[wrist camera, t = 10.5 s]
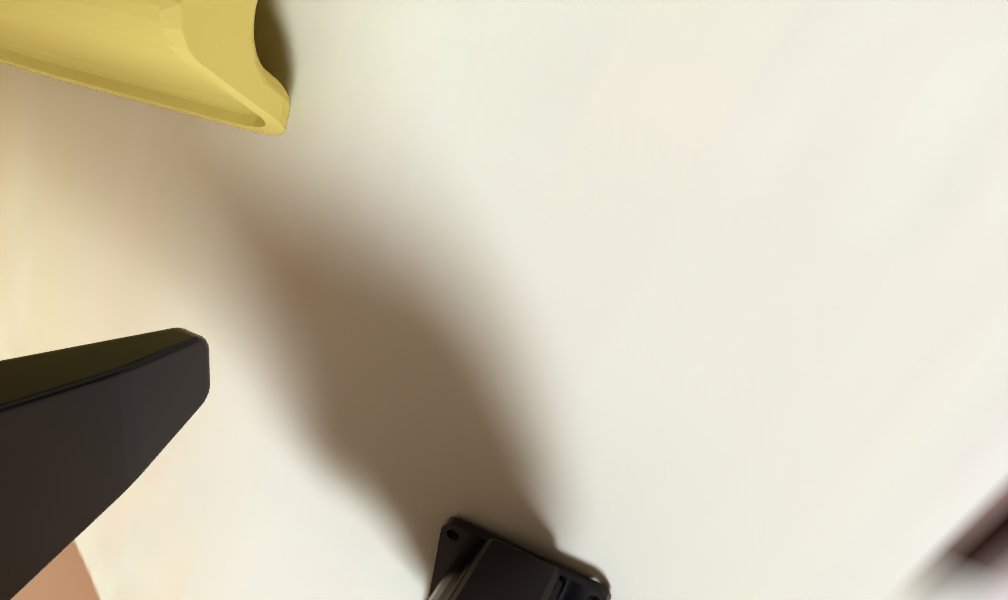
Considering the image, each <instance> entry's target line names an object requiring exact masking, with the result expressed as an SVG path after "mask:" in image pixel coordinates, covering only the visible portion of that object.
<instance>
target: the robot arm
mask: <svg viewBox="0 0 1008 600" xmlns="http://www.w3.org/2000/svg"><path fill="white" fill-rule="evenodd" d="M209 389H210V368H209V346H208V343H207V341H206V339H204V338H203V337H202V336H200V335H197V334H195V333H193V332H190V331H188V330H186V329H183V328H171V329H166V330H161V331H155V332H150V333H145V334H139V335H134V336H129V337H124V338H118V339H113V340H108V341H102V342H97V343H92V344H87V345H81V346H76V347H71V348H65V349H60V350H55V351H50V352H44V353H39V354H34V355H28V356H23V357H18V358H13V359H7V360H2V361H0V600H10V599H12V598H13V597H14V596H15V595H16V594H17V593H18V592H19V591H20V590H21V589H22V588H23V587H24V586H25V585H27V584H28V583H29V582H30V581H31V580H32V579H33V578H34V577H35V576H36V575H37V574H38V573H39V572H40V571H41V570H42V569H44V568H45V567H46V566H47V565H48V564H49V563H50V562H51V561H52V560H53V559H54V558H55V557H56V556H57V555H58V554H59V553H60V552H62V551H63V550H64V549H65V548H66V547H67V546H68V545H69V544H70V543H71V542H72V541H73V540H74V539H75V538H76V537H77V536H79V535H80V534H81V533H82V532H83V531H84V530H85V529H86V528H87V527H88V526H89V525H90V524H91V523H92V522H93V521H94V520H95V519H97V518H98V517H99V516H100V515H101V514H102V513H103V512H104V511H105V510H106V509H107V508H108V507H109V506H110V505H111V504H112V503H114V502H115V501H116V500H117V499H118V498H119V497H120V496H121V495H122V494H123V493H124V492H125V491H126V490H127V489H128V488H129V487H130V486H131V485H132V484H133V482H134V481H135V480H136V479H137V478H138V477H139V476H140V475H141V474H142V473H143V472H144V471H145V469H146V468H147V467H148V466H149V465H150V464H151V462H152V461H153V460H154V459H155V458H156V457H157V456H158V454H159V453H160V452H161V451H162V450H163V449H164V448H165V446H166V445H167V444H168V443H169V442H170V441H171V440H172V438H173V437H174V436H175V435H176V434H177V433H178V432H179V430H180V429H181V428H182V427H183V426H184V425H185V424H186V422H187V421H188V420H189V419H190V418H191V417H192V416H193V414H194V413H195V412H196V411H197V410H198V409H199V407H200V406H201V405H202V404H203V402H204V401H205V399H206V397H207V395H208V393H209ZM455 531H456V532H457V533H456V532H455ZM594 596H595V597H597V598H598V599H597V598H595V597H594ZM428 600H611V594H610V591H609V590H608V589H607V588H606V587H605V586H603V585H602V584H600V583H598V582H596V581H594V580H591V579H589V578H587V577H585V576H583V575H581V574H579V573H576V572H574V571H572V570H570V569H568V568H566V567H563V566H561V565H559V564H557V563H555V562H553V561H550V560H548V559H546V558H544V557H542V556H540V555H538V554H535V553H533V552H531V551H529V550H527V549H525V548H522V547H520V546H518V545H516V544H514V543H512V542H509V541H507V540H505V539H503V538H501V537H499V536H497V535H494V534H492V533H490V532H488V531H486V530H484V529H481V528H479V527H477V526H475V525H473V524H471V523H469V522H466V521H464V520H462V519H460V518H456V517H451V518H449V519H448V520H447V521H446V522H445V524H444V525H443V527H442V529H441V533H440V538H439V544H438V550H437V555H436V561H435V566H434V572H433V578H432V583H431V589H430V594H429V599H428Z"/></svg>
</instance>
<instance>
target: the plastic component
mask: <svg viewBox="0 0 1008 600" xmlns="http://www.w3.org/2000/svg"><path fill="white" fill-rule="evenodd" d="M257 1H258V0H0V62H3V63H6V64H10V65H13V66H16V67H19V68H22V69H25V70H29V71H32V72H35V73H38V74H42V75H45V76H48V77H52V78H55V79H58V80H62V81H65V82H69V83H72V84H76V85H80V86H84V87H87V88H91V89H95V90H99V91H102V92H106V93H110V94H113V95H117V96H121V97H125V98H128V99H132V100H136V101H140V102H143V103H147V104H151V105H155V106H158V107H162V108H166V109H170V110H173V111H177V112H181V113H185V114H188V115H192V116H196V117H199V118H203V119H207V120H211V121H214V122H218V123H222V124H226V125H229V126H233V127H237V128H241V129H244V130H248V131H252V132H257V133H262V134H268V135H280V134H282V133H284V132H285V128H286V124H287V120H288V116H289V112H290V99H289V96H288V94H287V92H286V90H285V89H284V87H283V86H282V84H281V83H280V82H279V81H278V80H277V79H276V78H274V77H273V76H272V75H271V74H270V73H269V72H268V71H266V70H265V69H264V68H263V67H262V65H261V63H260V61H259V58H258V56H257V53H256V48H255V42H254V18H255V10H256V5H257Z"/></svg>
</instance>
